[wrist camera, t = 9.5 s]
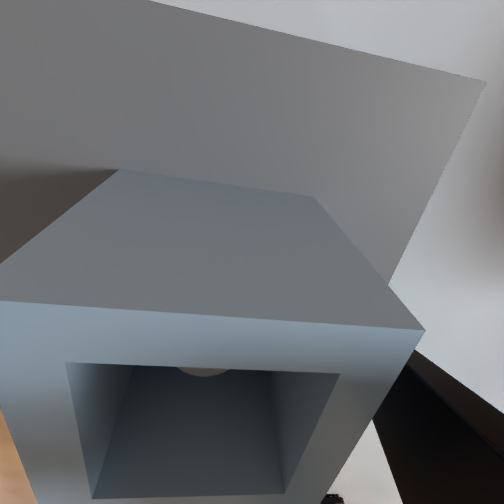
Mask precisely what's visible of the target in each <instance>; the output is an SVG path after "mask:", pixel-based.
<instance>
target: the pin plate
mask: <svg viewBox="0 0 504 504" xmlns="http://www.w3.org/2000/svg"><path fill="white" fill-rule="evenodd" d="M485 84H486V82H485V81H481V80H476V79H472V78H468V77H464V76H460V75H456V74H452V73H447V72H443V71H439V70H435V69H431V68H427V67H422V66H418V65H414V64H410V63H406V62H402V61H398V60H393V59H389V58H385V57H381V56H377V55H373V54H369V53H364V52H360V51H356V50H352V49H348V48H344V47H340V46H335V45H331V44H327V43H323V42H319V41H315V40H310V39H306V38H302V37H298V36H294V35H290V34H286V33H281V32H277V31H273V30H269V29H265V28H261V27H257V26H252V25H248V24H244V23H240V22H236V21H232V20H228V19H223V18H219V17H215V16H211V15H207V14H203V13H198V12H194V11H190V10H186V9H182V8H178V7H174V6H169V5H165V4H161V3H157V2H153V1H149V0H0V264H1V263H2V262H3V261H5V260H6V259H7V258H8V257H10V256H11V255H12V254H13V253H15V252H16V251H17V250H18V249H20V248H21V247H22V246H23V245H25V244H26V243H27V242H29V241H30V240H31V239H32V238H34V237H35V236H36V235H37V234H39V233H40V232H41V231H42V230H44V229H45V228H46V227H47V226H49V225H50V224H51V223H53V222H54V221H55V220H56V219H58V218H59V217H60V216H61V215H63V214H64V213H65V212H66V211H68V210H69V209H70V208H71V207H73V206H74V205H75V204H76V203H78V202H79V201H80V200H82V199H83V198H84V197H85V196H87V195H88V194H89V193H90V192H92V191H93V190H94V189H95V188H97V187H98V186H99V185H100V184H102V183H103V182H104V181H106V180H107V179H108V178H109V177H111V176H112V175H113V174H114V173H116V172H117V171H118V170H119V169H121V170H128V171H135V172H142V173H149V174H156V175H163V176H170V177H177V178H184V179H191V180H198V181H205V182H212V183H219V184H226V185H234V186H241V187H248V188H255V189H262V190H269V191H276V192H283V193H290V194H297V195H304V196H311V197H315V199H316V200H317V201H318V202H319V203H320V205H321V206H322V207H323V208H324V209H325V211H326V212H327V213H328V214H329V215H330V217H331V218H332V219H333V220H334V221H335V223H336V224H337V225H338V226H339V227H340V229H341V230H342V231H343V232H344V233H345V235H346V236H347V237H348V238H349V239H350V241H351V242H352V243H353V244H354V245H355V246H356V248H357V249H358V250H359V251H360V252H361V254H362V255H363V256H364V257H365V258H366V260H367V261H368V262H369V263H370V264H371V266H372V267H373V268H374V269H375V270H376V272H377V273H378V274H379V275H380V276H381V278H382V279H383V280H384V281H385V282H386V284H387V285H388V283H389V281H390V279H391V277H392V275H393V273H394V271H395V269H396V267H397V265H398V263H399V261H400V259H401V257H402V255H403V253H404V251H405V249H406V246H407V244H408V242H409V240H410V238H411V236H412V234H413V232H414V230H415V228H416V226H417V224H418V222H419V220H420V218H421V216H422V214H423V212H424V209H425V207H426V205H427V203H428V201H429V199H430V197H431V195H432V193H433V191H434V189H435V187H436V185H437V183H438V181H439V179H440V177H441V175H442V172H443V170H444V168H445V166H446V164H447V162H448V160H449V158H450V156H451V154H452V152H453V150H454V148H455V146H456V144H457V142H458V140H459V138H460V135H461V133H462V131H463V129H464V127H465V125H466V123H467V121H468V119H469V117H470V115H471V113H472V111H473V109H474V107H475V105H476V103H477V101H478V98H479V96H480V94H481V92H482V90H483V88H484V86H485ZM178 368H179V369H180V370H182V371H183V372H185V373H187V374H190V375H194V376H201V377H207V376H214V375H218V374H221V373H223V372H225V371H227V370H229V369H219V368H195V367H178Z"/></svg>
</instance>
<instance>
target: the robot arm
mask: <svg viewBox="0 0 504 504" xmlns="http://www.w3.org/2000/svg"><path fill="white" fill-rule="evenodd" d="M372 420H373V423H374V425H375V428H376V431H377V434H378V436H379V439H380V442H381V445H382V447H383V450H384V453H385V456H386V458H387V461H388V464H389V467H390V469H391V472H392V475H393V478H394V481H395V483H396V486H397V489H398V492H399V494H400V497H401V500H402V503H403V504H504V414H503V413H502V412H501V411H499V410H498V409H496V408H495V407H494V406H492V405H491V404H489V403H488V402H487V401H485V400H484V399H483V398H481V397H480V396H478V395H477V394H476V393H474V392H473V391H471V390H470V389H469V388H467V387H466V386H465V385H463V384H462V383H460V382H459V381H458V380H456V379H455V378H454V377H452V376H451V375H449V374H448V373H447V372H445V371H444V370H442V369H441V368H440V367H438V366H437V365H436V364H434V363H433V362H431V361H430V360H429V359H427V358H426V357H425V356H423V355H422V354H420V353H419V352H418V351H416V350H415V349H414V351H413V352H412V354H411V356H410V357H409V359H408V361H407V362H406V364H405V365H404V367H403V369H402V370H401V372H400V374H399V375H398V377H397V379H396V380H395V382H394V383H393V385H392V387H391V388H390V390H389V392H388V393H387V395H386V397H385V398H384V400H383V401H382V403H381V405H380V406H379V408H378V410H377V411H376V413H375V415H374V416H373V418H372ZM320 504H344V500H343V498H342V497H324V498H323V500H322V501H321V503H320Z"/></svg>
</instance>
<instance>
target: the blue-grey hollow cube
mask: <svg viewBox="0 0 504 504" xmlns="http://www.w3.org/2000/svg"><path fill="white" fill-rule="evenodd" d="M425 331H426V330H425V329H424V328H423V327H422V325H421V324H420V323H419V322H418V321H417V319H416V318H415V317H414V316H413V315H412V313H411V312H410V311H409V310H408V309H407V307H406V306H405V305H404V304H403V303H402V302H401V300H400V299H399V298H398V297H397V296H396V294H395V293H394V292H393V291H392V290H391V288H390V287H389V286H388V285H387V284H386V282H385V281H384V280H383V279H382V278H381V276H380V275H379V274H378V273H377V272H376V270H375V269H374V268H373V267H372V266H371V264H370V263H369V262H368V261H367V260H366V258H365V257H364V256H363V255H362V254H361V252H360V251H359V250H358V249H357V248H356V246H355V245H354V244H353V243H352V242H351V241H350V239H349V238H348V237H347V236H346V235H345V233H344V232H343V231H342V230H341V229H340V227H339V226H338V225H337V224H336V223H335V221H334V220H333V219H332V218H331V217H330V215H329V214H328V213H327V212H326V211H325V209H324V208H323V207H322V206H321V205H320V203H319V202H318V201H317V200H316V199H315V197H311V196H304V195H297V194H290V193H283V192H276V191H269V190H262V189H255V188H248V187H241V186H234V185H226V184H219V183H212V182H205V181H198V180H191V179H184V178H177V177H170V176H163V175H156V174H149V173H142V172H135V171H128V170H121V169H119V170H118V171H117V172H116V173H114V174H113V175H112V176H111V177H109V178H108V179H107V180H106V181H104V182H103V183H102V184H100V185H99V186H98V187H97V188H95V189H94V190H93V191H92V192H90V193H89V194H88V195H87V196H85V197H84V198H83V199H82V200H80V201H79V202H78V203H76V204H75V205H74V206H73V207H71V208H70V209H69V210H68V211H66V212H65V213H64V214H63V215H61V216H60V217H59V218H58V219H56V220H55V221H54V222H53V223H51V224H50V225H49V226H47V227H46V228H45V229H44V230H42V231H41V232H40V233H39V234H37V235H36V236H35V237H34V238H32V239H31V240H30V241H29V242H27V243H26V244H25V245H23V246H22V247H21V248H20V249H18V250H17V251H16V252H15V253H13V254H12V255H11V256H10V257H8V258H7V259H6V260H5V261H3V262H2V263H1V264H0V408H1V410H2V413H3V415H4V418H5V421H6V423H7V426H8V428H9V431H10V433H11V436H12V438H13V441H14V444H15V446H16V449H17V451H18V454H19V456H20V459H21V461H22V464H23V467H24V469H25V472H26V474H27V477H28V479H29V482H30V485H31V487H32V490H33V492H34V495H35V497H36V500H37V502H38V504H320V503H321V501H322V500H323V498H324V497H325V495H326V493H327V492H328V490H329V488H330V487H331V485H332V483H333V482H334V480H335V479H336V477H337V475H338V474H339V472H340V470H341V469H342V467H343V465H344V464H345V462H346V461H347V459H348V457H349V456H350V454H351V452H352V451H353V449H354V447H355V446H356V444H357V442H358V441H359V439H360V438H361V436H362V434H363V433H364V431H365V429H366V428H367V426H368V424H369V423H370V421H371V420H372V418H373V416H374V415H375V413H376V411H377V410H378V408H379V406H380V405H381V403H382V401H383V400H384V398H385V397H386V395H387V393H388V392H389V390H390V388H391V387H392V385H393V383H394V382H395V380H396V379H397V377H398V375H399V374H400V372H401V370H402V369H403V367H404V365H405V364H406V362H407V361H408V359H409V357H410V356H411V354H412V352H413V351H414V349H415V347H416V346H417V344H418V342H419V341H420V339H421V338H422V336H423V334H424V333H425ZM178 367H195V368H219V369H229V370H227V371H225V372H223V373H221V374H218V375H214V376H207V377H201V376H194V375H190V374H187V373H185V372H183V371H182V370H180V369H179V368H178Z"/></svg>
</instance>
